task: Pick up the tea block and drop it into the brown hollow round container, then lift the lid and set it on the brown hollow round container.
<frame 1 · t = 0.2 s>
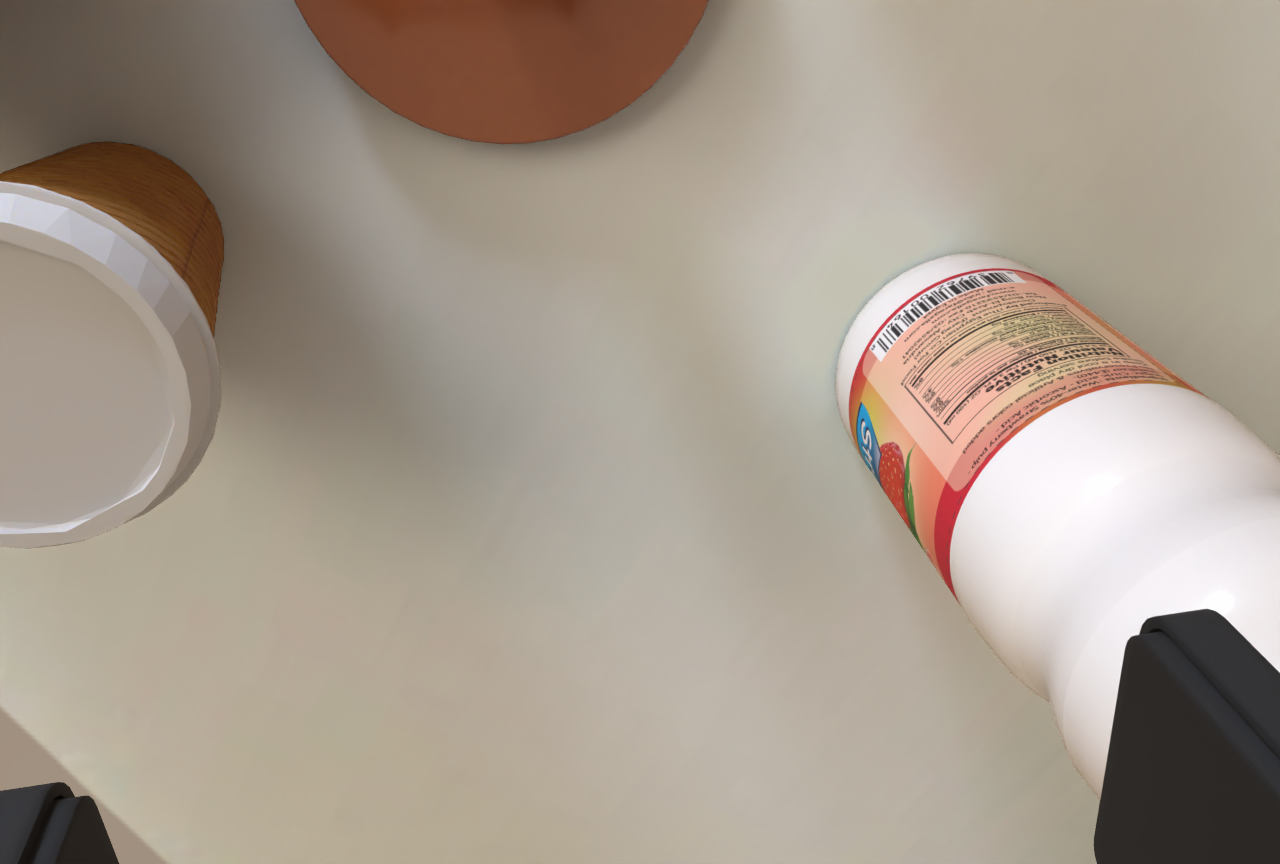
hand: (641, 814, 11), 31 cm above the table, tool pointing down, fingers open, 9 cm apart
disposable coffee cup: (125, 235, 38), on the table
fruit juice: (945, 361, 45), on the table
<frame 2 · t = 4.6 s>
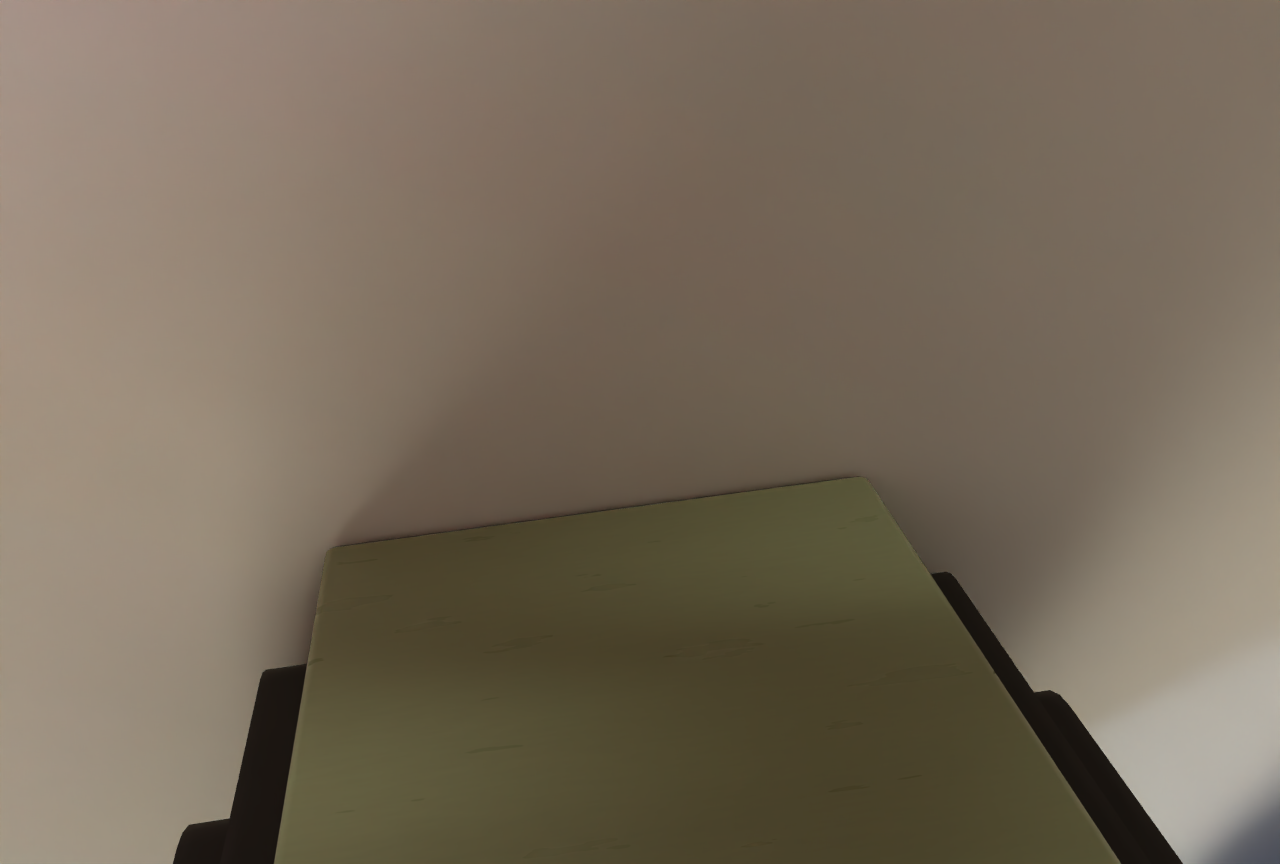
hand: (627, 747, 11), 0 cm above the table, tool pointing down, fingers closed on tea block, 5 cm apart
tea block: (621, 717, 12), on the table, touching gripper
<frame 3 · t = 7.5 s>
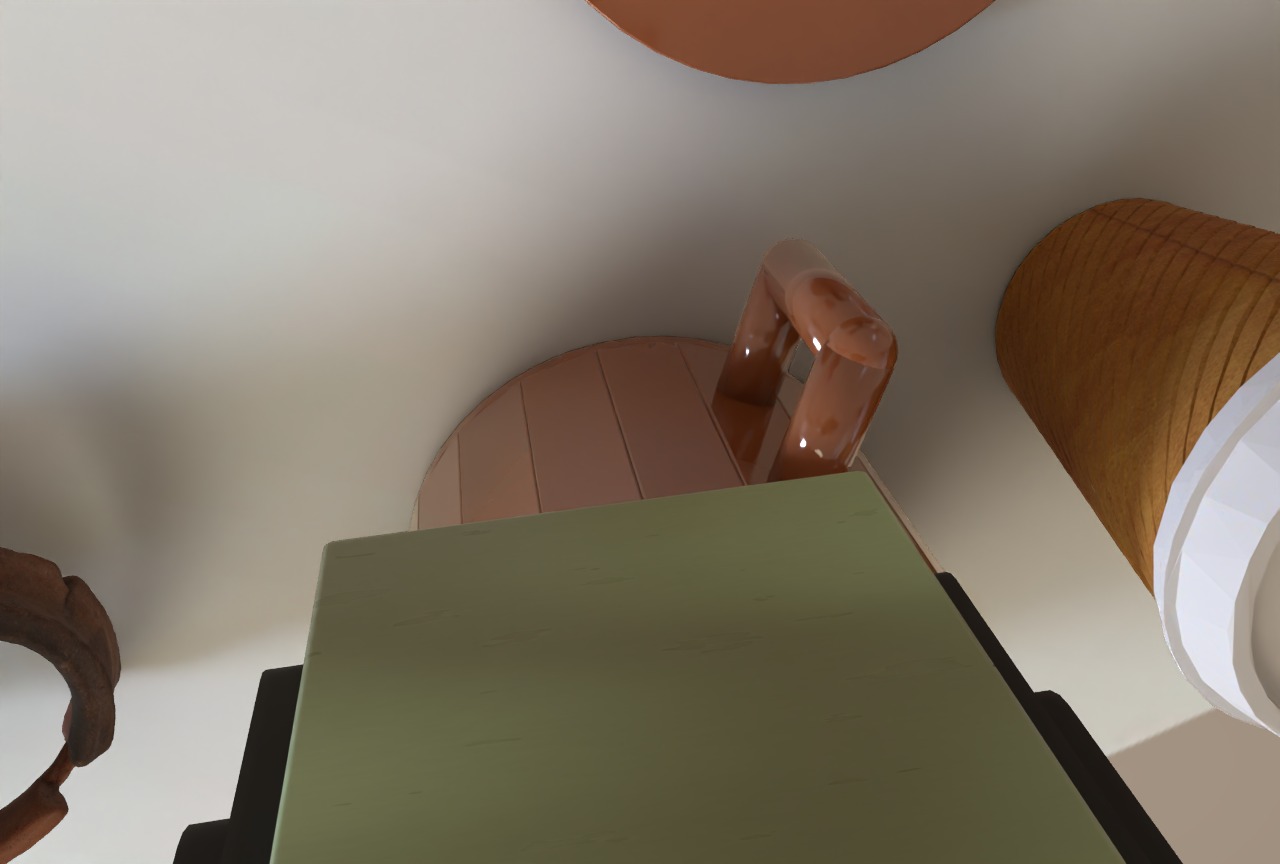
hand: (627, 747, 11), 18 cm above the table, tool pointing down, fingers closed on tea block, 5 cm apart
disposable coffee cup: (1104, 311, 31), on the table
teapot spout handle: (669, 680, 27), point 5 cm above the table
brown hollow round container: (643, 549, 32), on the table
tea block: (620, 713, 12), point 17 cm above the table, touching gripper
when the fingers open (8 cm above the table, at t = 11.4 s): tea block stays where it is, resting on brown hollow round container.
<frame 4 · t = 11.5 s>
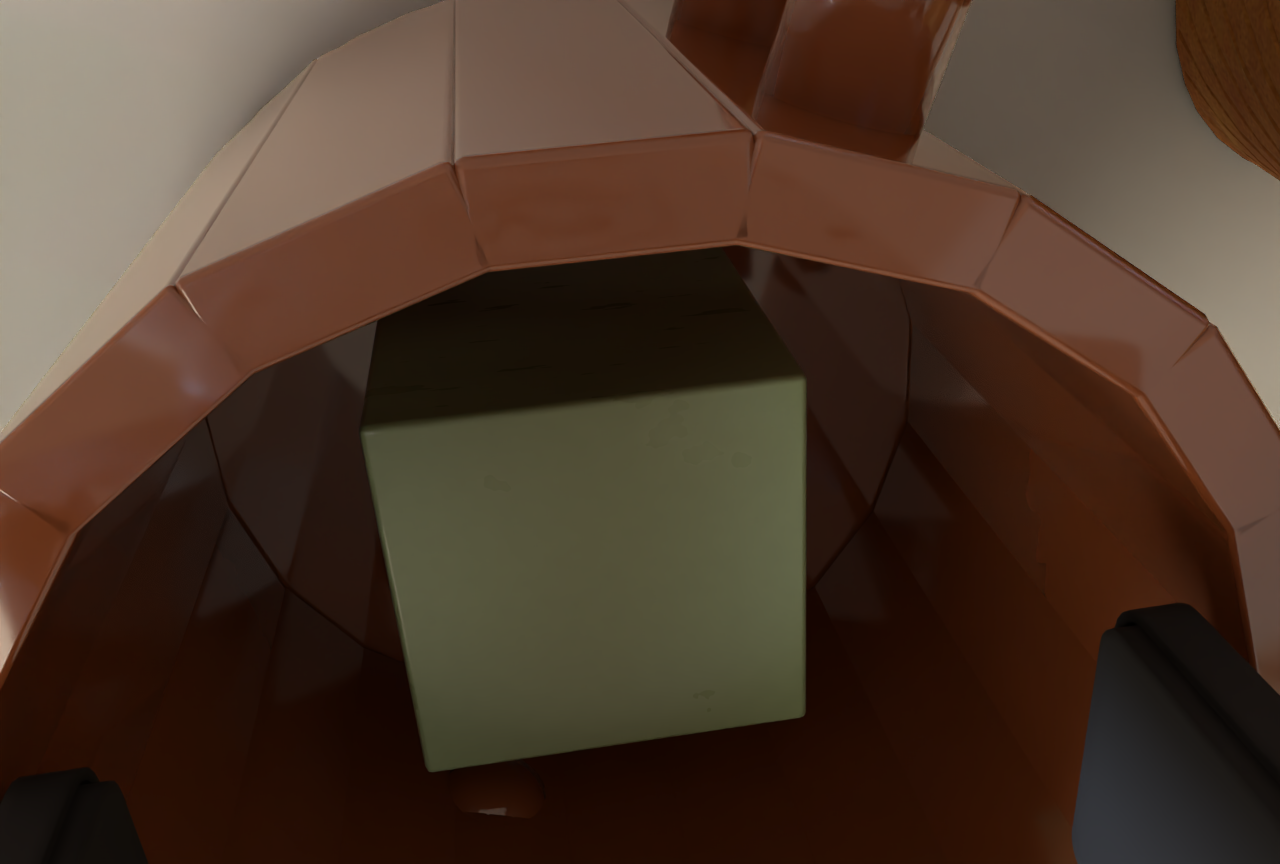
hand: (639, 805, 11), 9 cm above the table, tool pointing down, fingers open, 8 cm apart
teapot spout handle: (592, 599, 15), point 5 cm above the table
brown hollow round container: (569, 398, 19), on the table
tea block: (569, 408, 18), resting on brown hollow round container
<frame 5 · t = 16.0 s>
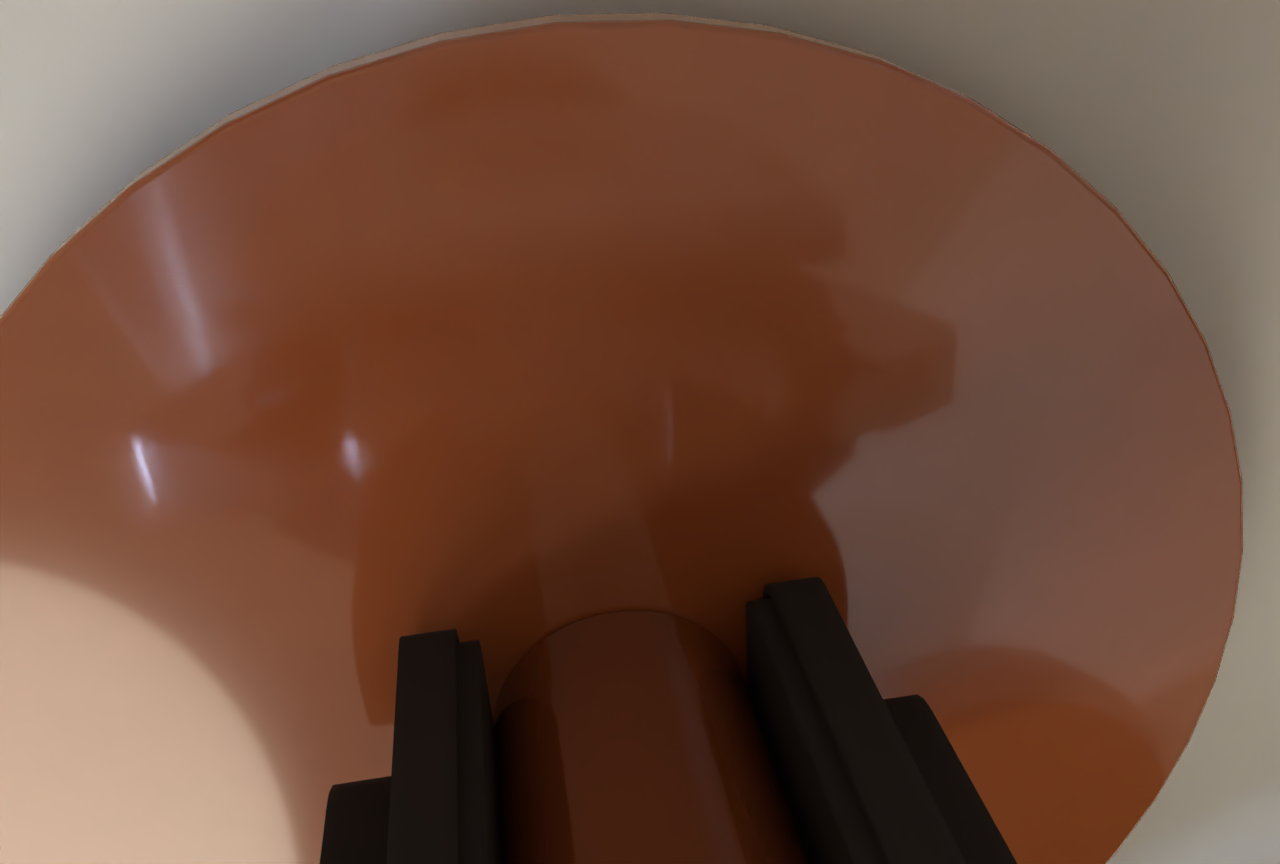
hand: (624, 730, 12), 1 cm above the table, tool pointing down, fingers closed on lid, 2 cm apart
lid: (615, 680, 12), point 1 cm above the table, touching gripper
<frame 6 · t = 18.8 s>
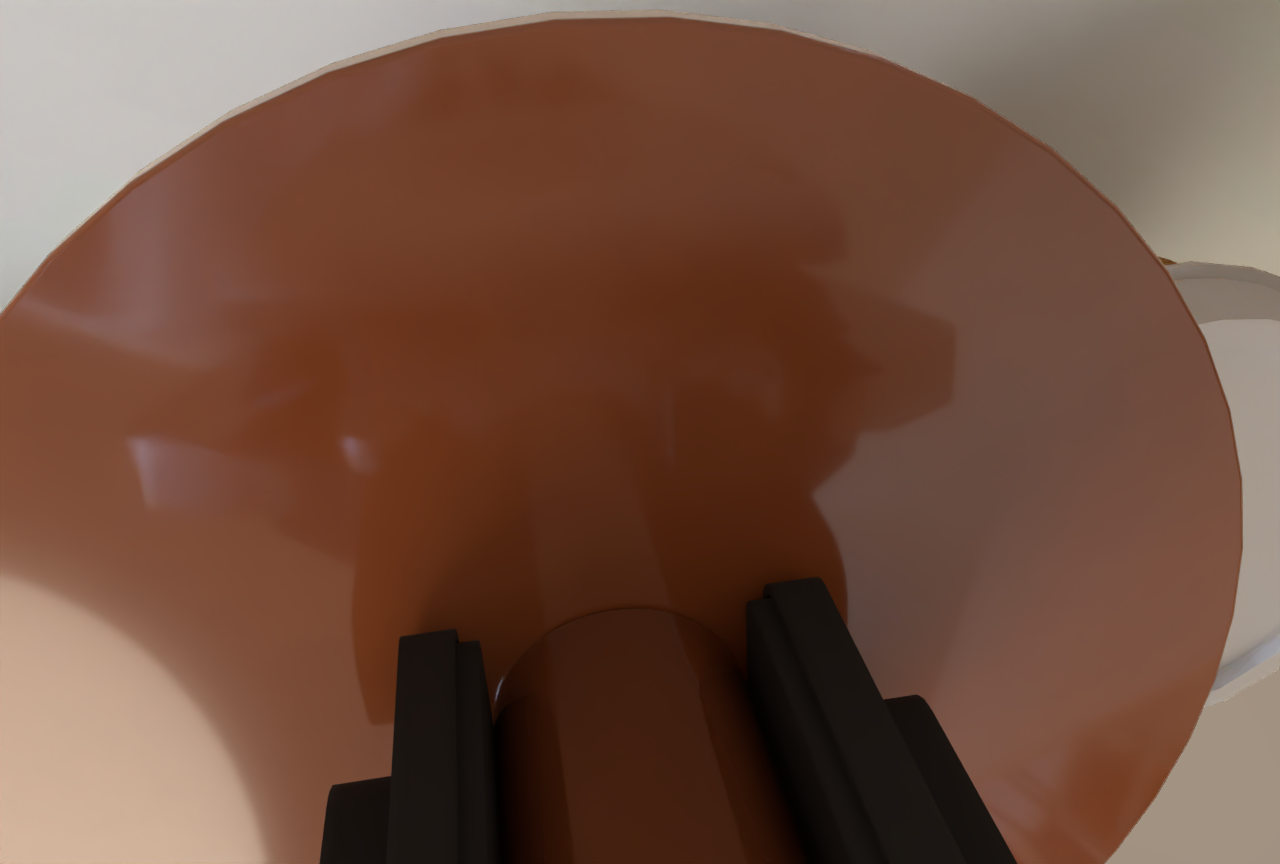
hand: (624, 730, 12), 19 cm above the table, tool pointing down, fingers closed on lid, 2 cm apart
lid: (614, 678, 12), point 18 cm above the table, touching gripper
disposable coffee cup: (928, 301, 31), on the table
when the fingers open (10 cm above the table, at t = 21.9 s): lid stays where it is, resting on brown hollow round container.
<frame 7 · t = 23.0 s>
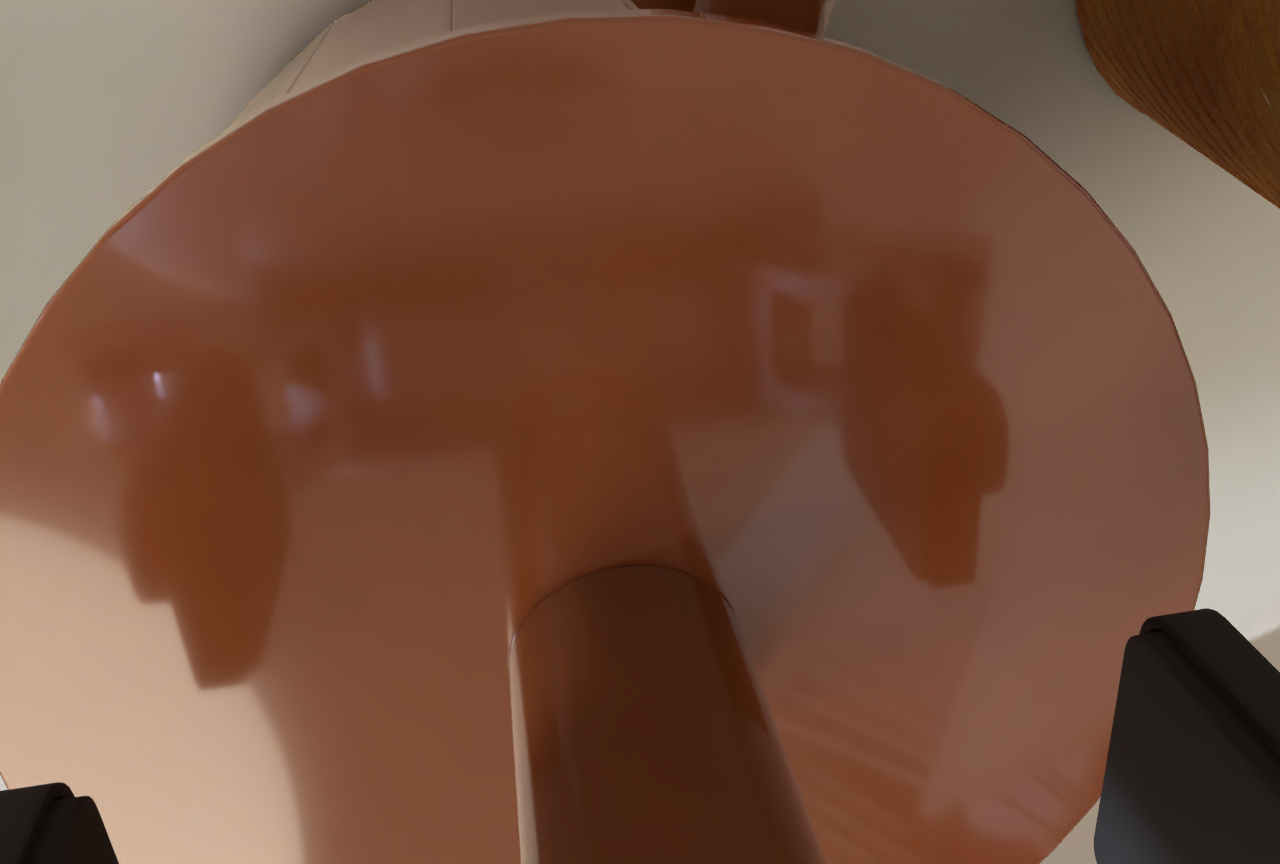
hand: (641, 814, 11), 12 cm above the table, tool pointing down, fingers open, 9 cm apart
lid: (621, 634, 13), point 9 cm above the table, touching brown hollow round container
teapot spout handle: (569, 476, 17), point 5 cm above the table
brown hollow round container: (552, 323, 21), on the table
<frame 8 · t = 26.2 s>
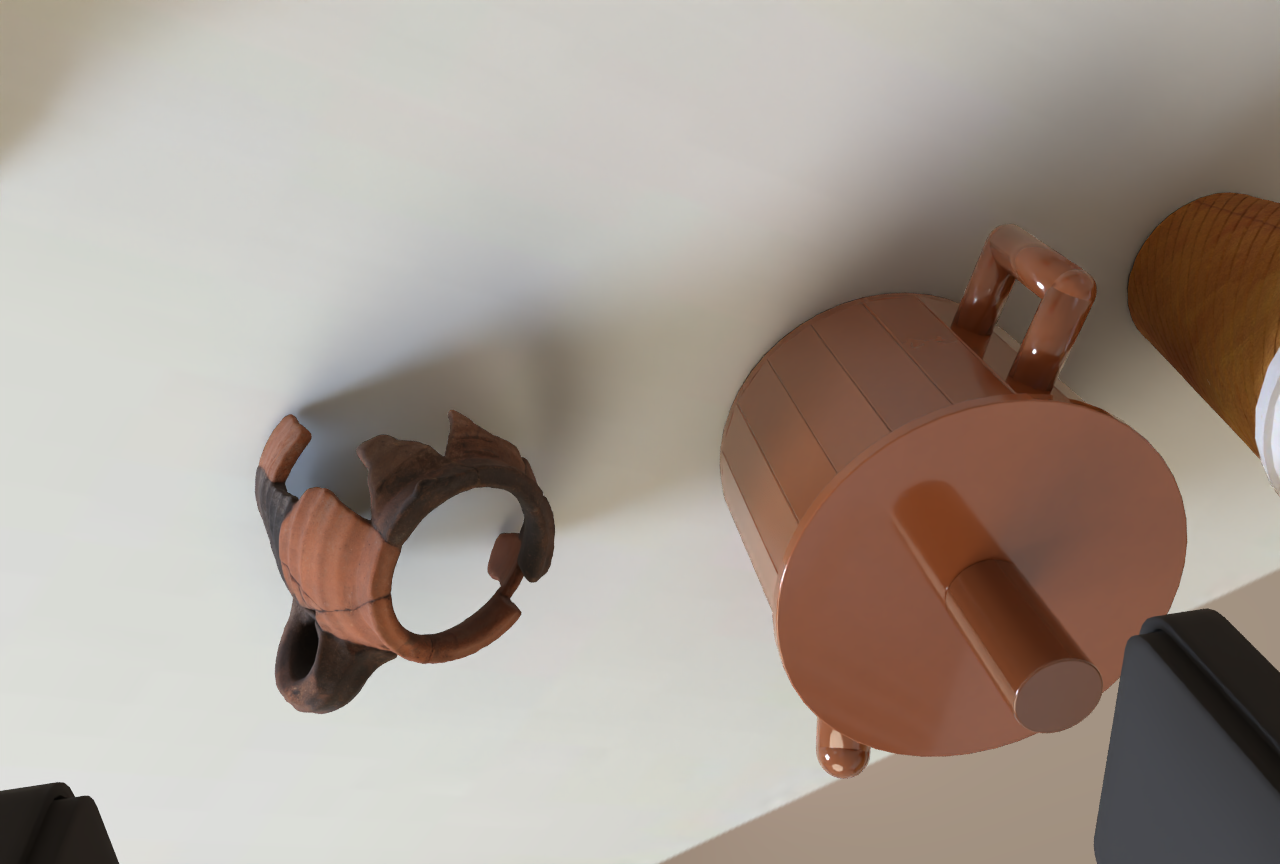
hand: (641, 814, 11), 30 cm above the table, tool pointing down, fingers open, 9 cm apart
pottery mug: (385, 507, 43), on the table
lid: (978, 584, 37), point 9 cm above the table, touching brown hollow round container
disposable coffee cup: (1202, 271, 44), on the table
teapot spout handle: (918, 522, 41), point 5 cm above the table
brown hollow round container: (878, 445, 45), on the table
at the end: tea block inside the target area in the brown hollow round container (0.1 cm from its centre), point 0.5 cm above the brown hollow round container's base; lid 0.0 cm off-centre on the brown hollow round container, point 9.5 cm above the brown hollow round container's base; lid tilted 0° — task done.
